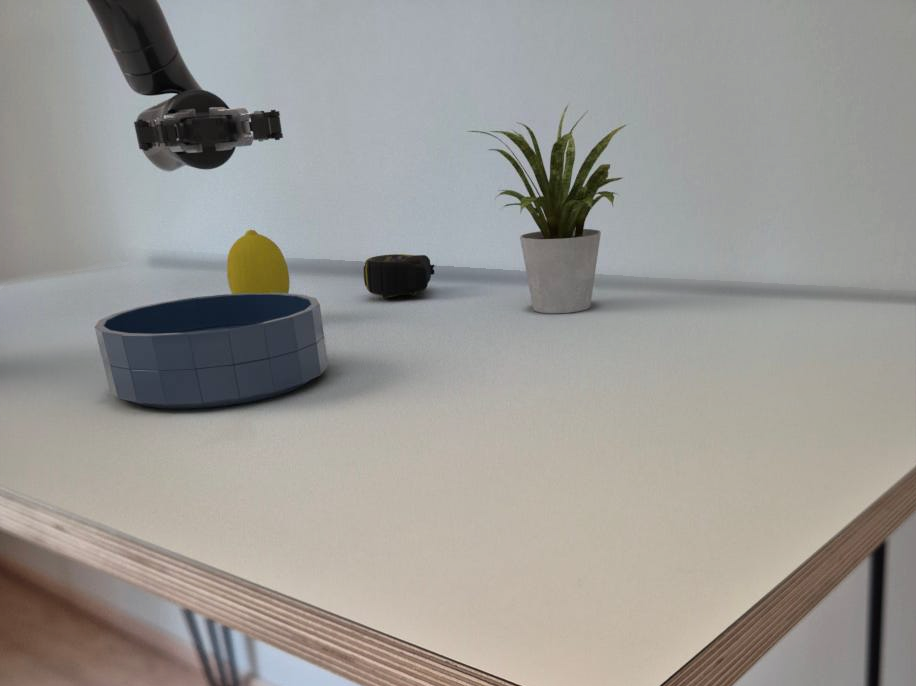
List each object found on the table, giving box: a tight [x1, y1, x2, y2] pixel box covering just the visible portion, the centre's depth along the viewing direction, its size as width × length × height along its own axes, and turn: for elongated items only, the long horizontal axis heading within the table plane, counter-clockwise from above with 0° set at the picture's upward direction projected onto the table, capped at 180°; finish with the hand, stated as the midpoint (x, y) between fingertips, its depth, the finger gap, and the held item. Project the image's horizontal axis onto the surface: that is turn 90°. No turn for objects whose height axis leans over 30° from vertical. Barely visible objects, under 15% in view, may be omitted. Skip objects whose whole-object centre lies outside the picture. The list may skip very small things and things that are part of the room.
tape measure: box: [363, 253, 435, 299], centre depth 98 cm, size 7×7×4 cm
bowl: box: [94, 293, 329, 410], centre depth 68 cm, size 15×15×5 cm
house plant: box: [468, 101, 629, 314], centre depth 83 cm, size 14×14×16 cm
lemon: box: [226, 229, 290, 294], centre depth 88 cm, size 6×6×8 cm
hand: (217, 129), depth 92 cm, fingers open, 8 cm apart
